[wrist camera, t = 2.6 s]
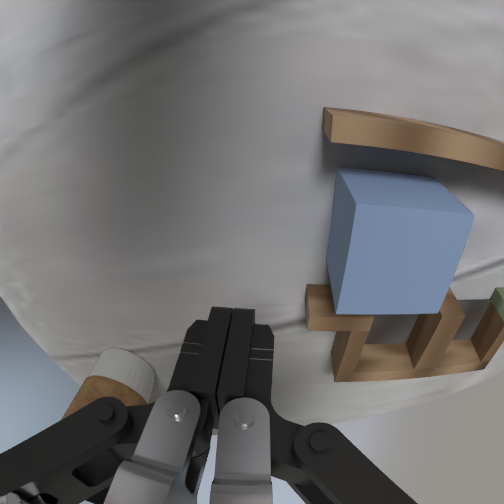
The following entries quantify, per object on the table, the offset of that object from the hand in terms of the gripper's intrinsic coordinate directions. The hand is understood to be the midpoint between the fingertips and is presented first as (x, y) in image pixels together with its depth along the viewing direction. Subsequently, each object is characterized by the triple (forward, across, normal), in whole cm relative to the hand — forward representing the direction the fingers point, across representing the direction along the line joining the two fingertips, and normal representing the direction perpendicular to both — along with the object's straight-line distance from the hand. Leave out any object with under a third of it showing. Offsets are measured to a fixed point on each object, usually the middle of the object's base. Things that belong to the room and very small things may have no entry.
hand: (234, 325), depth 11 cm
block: (+9, -8, 0) cm, 11 cm away
